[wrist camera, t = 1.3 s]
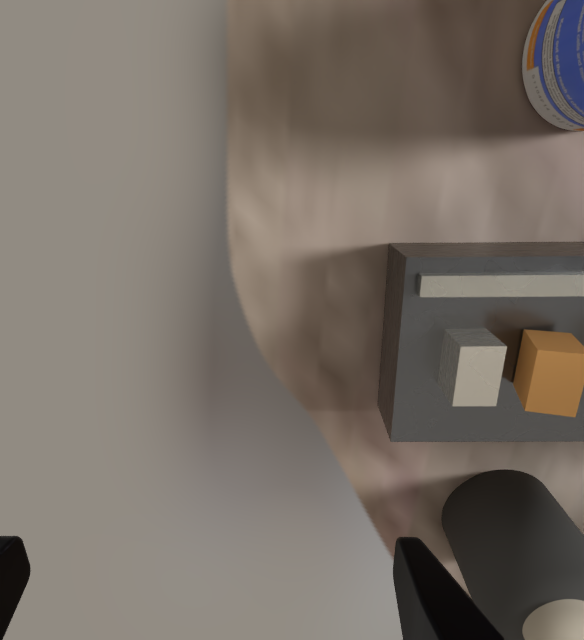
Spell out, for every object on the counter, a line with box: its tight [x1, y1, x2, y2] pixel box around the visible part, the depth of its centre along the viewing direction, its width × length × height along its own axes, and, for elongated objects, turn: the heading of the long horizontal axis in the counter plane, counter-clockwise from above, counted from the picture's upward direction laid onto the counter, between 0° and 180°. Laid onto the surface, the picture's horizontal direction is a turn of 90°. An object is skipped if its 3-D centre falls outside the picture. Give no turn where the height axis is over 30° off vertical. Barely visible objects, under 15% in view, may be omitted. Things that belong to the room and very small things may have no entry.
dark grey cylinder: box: [442, 470, 584, 640], centre depth 20 cm, size 6×6×6 cm
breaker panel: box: [378, 242, 584, 442], centre depth 17 cm, size 14×8×5 cm, turn 91°
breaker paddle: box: [513, 329, 584, 417], centre depth 15 cm, size 2×2×2 cm
